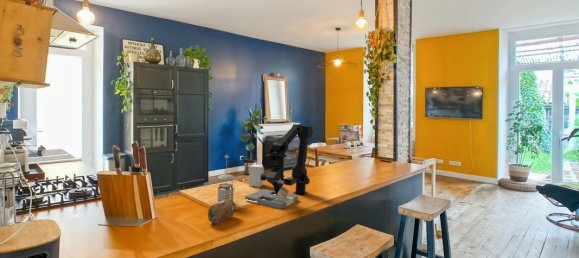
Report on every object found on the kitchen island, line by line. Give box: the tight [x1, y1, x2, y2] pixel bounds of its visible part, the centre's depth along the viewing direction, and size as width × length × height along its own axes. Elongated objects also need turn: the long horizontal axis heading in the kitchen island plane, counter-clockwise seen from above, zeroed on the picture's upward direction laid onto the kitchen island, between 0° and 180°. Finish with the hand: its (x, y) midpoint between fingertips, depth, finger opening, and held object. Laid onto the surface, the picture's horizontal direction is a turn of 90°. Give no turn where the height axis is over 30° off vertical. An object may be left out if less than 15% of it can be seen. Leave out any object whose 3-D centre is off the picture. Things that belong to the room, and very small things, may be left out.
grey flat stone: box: [207, 200, 236, 225], centre depth 144 cm, size 15×3×8 cm, turn 148°
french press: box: [217, 154, 236, 202], centre depth 166 cm, size 10×12×25 cm
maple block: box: [277, 186, 290, 199], centre depth 172 cm, size 4×4×4 cm
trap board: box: [244, 188, 299, 210], centre depth 175 cm, size 18×22×2 cm
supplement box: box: [248, 164, 265, 188], centre depth 204 cm, size 7×7×13 cm
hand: (277, 195), depth 173 cm, fingers closed
